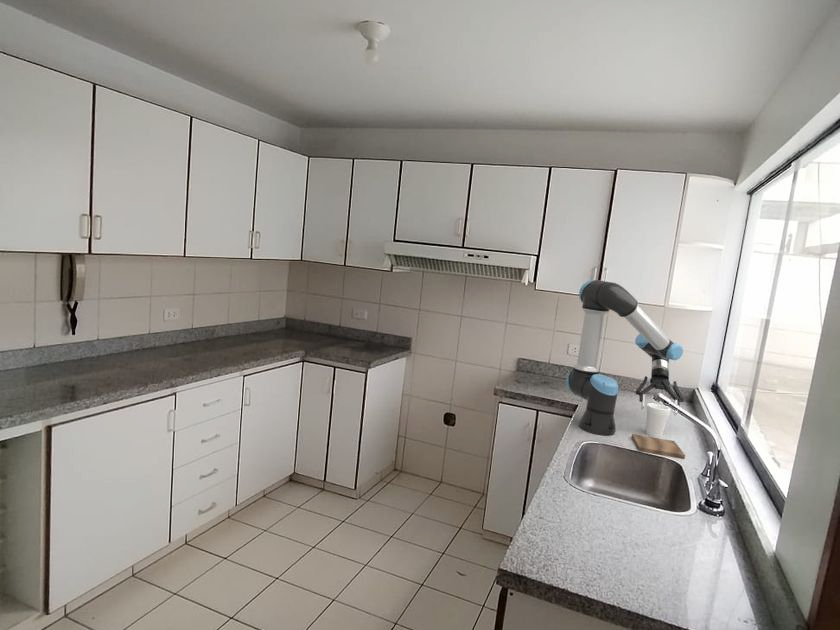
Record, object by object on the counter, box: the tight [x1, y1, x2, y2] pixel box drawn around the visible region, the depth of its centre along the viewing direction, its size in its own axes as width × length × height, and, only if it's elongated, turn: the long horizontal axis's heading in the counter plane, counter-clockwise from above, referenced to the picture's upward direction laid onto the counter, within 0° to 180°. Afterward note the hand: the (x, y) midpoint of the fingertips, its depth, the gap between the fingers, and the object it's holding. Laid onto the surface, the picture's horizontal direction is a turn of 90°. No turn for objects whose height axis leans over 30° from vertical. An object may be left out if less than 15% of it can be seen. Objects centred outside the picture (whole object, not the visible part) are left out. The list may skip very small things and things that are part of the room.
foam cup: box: [645, 402, 671, 439], centre depth 227 cm, size 10×9×13 cm
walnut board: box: [631, 433, 686, 460], centre depth 212 cm, size 17×16×2 cm
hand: (659, 411), depth 231 cm, fingers open, 13 cm apart
